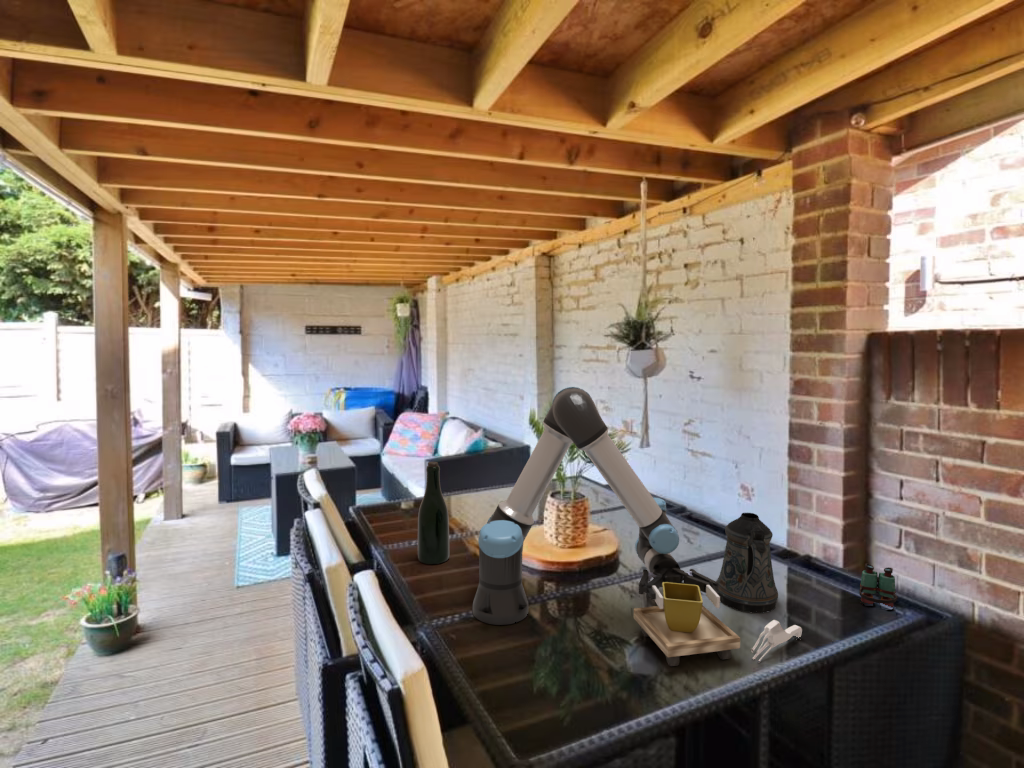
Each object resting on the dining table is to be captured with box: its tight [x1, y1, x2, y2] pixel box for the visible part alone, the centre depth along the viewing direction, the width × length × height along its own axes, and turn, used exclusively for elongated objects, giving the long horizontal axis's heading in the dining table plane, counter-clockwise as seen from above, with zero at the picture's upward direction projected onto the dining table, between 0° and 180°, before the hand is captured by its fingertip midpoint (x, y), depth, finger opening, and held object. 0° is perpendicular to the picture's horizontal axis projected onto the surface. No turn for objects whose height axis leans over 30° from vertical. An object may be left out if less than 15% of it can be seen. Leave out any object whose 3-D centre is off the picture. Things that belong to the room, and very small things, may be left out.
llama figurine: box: [750, 619, 803, 662], centre depth 134 cm, size 2×11×18 cm
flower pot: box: [661, 582, 704, 633], centre depth 134 cm, size 9×9×9 cm
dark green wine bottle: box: [417, 461, 450, 565], centre depth 187 cm, size 10×10×33 cm
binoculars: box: [859, 563, 899, 607], centre depth 157 cm, size 9×11×10 cm
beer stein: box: [715, 512, 779, 614], centre depth 158 cm, size 16×19×25 cm
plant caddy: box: [633, 604, 741, 667], centre depth 135 cm, size 18×18×6 cm
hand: (690, 603), depth 131 cm, fingers open, 13 cm apart
